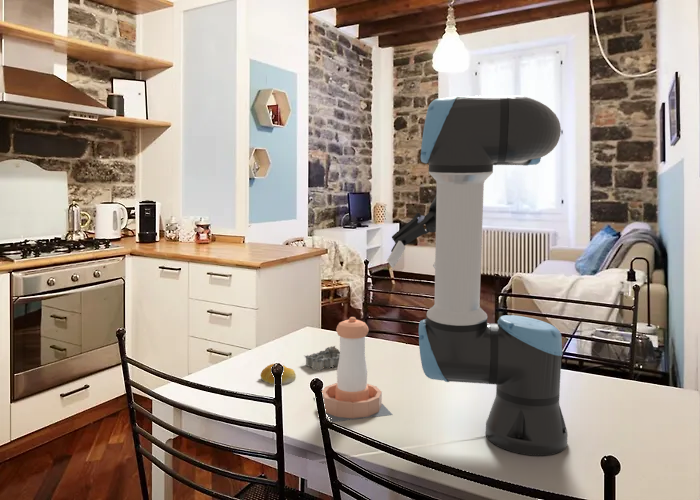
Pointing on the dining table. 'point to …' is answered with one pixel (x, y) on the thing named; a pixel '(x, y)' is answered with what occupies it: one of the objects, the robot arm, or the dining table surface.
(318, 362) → the egg carton
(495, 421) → the robot arm
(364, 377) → the pepper shaker
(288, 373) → the bread roll
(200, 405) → the dining table surface
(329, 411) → the dish
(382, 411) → the mat
